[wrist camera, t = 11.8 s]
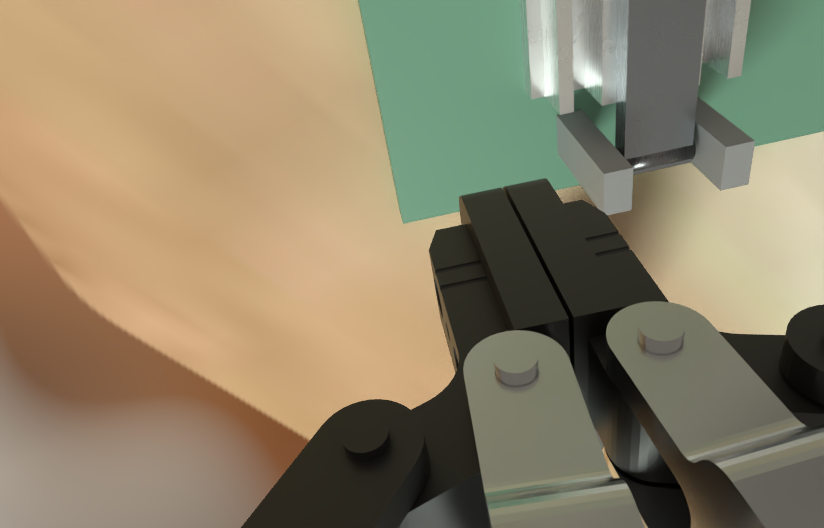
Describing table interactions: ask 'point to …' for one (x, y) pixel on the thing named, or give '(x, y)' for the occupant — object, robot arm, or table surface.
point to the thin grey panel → (658, 81)
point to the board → (573, 132)
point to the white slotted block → (608, 46)
